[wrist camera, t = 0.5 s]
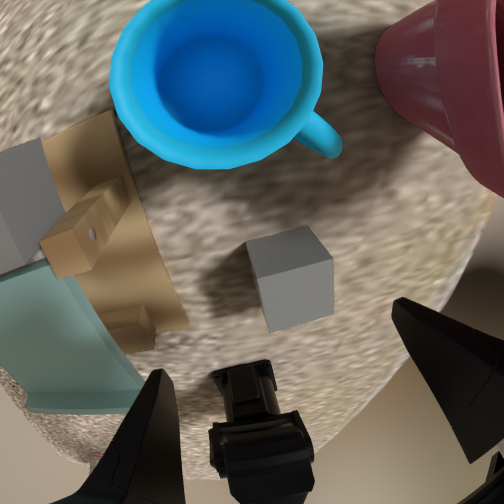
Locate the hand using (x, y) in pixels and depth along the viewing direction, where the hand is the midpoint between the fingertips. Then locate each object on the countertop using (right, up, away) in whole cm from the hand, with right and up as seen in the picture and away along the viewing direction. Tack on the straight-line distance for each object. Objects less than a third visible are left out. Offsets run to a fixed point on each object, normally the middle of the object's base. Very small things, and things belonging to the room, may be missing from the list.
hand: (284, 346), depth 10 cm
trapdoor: (-16, +1, +5) cm, 17 cm away
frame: (-17, +3, +10) cm, 20 cm away
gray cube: (+1, +3, +13) cm, 14 cm away
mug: (-2, +13, +7) cm, 15 cm away
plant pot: (+12, +18, +7) cm, 23 cm away
